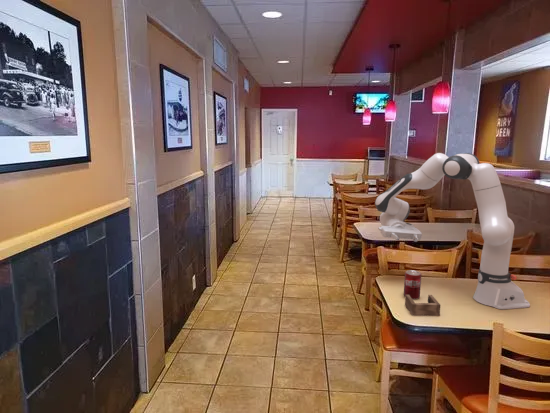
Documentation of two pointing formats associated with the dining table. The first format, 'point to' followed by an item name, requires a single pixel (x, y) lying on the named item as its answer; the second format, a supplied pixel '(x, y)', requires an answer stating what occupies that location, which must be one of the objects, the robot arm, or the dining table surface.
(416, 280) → the soda can
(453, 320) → the dining table surface
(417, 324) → the dining table surface
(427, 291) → the dining table surface
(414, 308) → the brown wooden u-shaped frame
